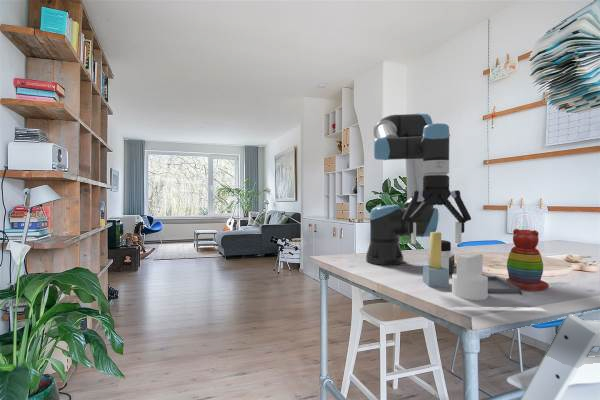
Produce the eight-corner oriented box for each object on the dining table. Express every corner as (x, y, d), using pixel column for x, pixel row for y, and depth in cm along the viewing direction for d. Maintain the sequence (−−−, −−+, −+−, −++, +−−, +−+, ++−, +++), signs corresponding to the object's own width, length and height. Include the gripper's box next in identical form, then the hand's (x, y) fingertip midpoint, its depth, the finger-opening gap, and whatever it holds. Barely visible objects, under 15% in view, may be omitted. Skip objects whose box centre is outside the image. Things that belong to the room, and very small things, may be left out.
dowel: (428, 282, 110) (428, 232, 109) (438, 282, 109) (439, 232, 109) (431, 285, 106) (432, 233, 106) (442, 285, 106) (442, 233, 106)
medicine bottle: (449, 277, 118) (449, 242, 117) (427, 274, 122) (428, 241, 121) (454, 273, 123) (454, 240, 123) (433, 270, 127) (434, 238, 127)
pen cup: (422, 283, 111) (422, 265, 111) (441, 283, 111) (441, 265, 110) (428, 289, 105) (428, 269, 105) (448, 289, 105) (449, 269, 105)
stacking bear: (550, 287, 106) (551, 229, 105) (541, 294, 99) (542, 232, 98) (510, 280, 114) (511, 226, 113) (499, 286, 107) (500, 229, 106)
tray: (464, 281, 112) (464, 275, 112) (496, 282, 112) (496, 276, 112) (485, 295, 98) (485, 288, 98) (521, 295, 98) (521, 288, 98)
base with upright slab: (462, 290, 103) (462, 250, 103) (493, 298, 96) (494, 255, 96) (445, 296, 98) (445, 254, 97) (477, 305, 91) (478, 259, 90)
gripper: (397, 174, 103) (397, 245, 104) (483, 173, 102) (482, 245, 103) (392, 175, 111) (392, 241, 112) (472, 175, 110) (471, 241, 110)
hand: (435, 243), depth 107 cm, fingers open, 13 cm apart
